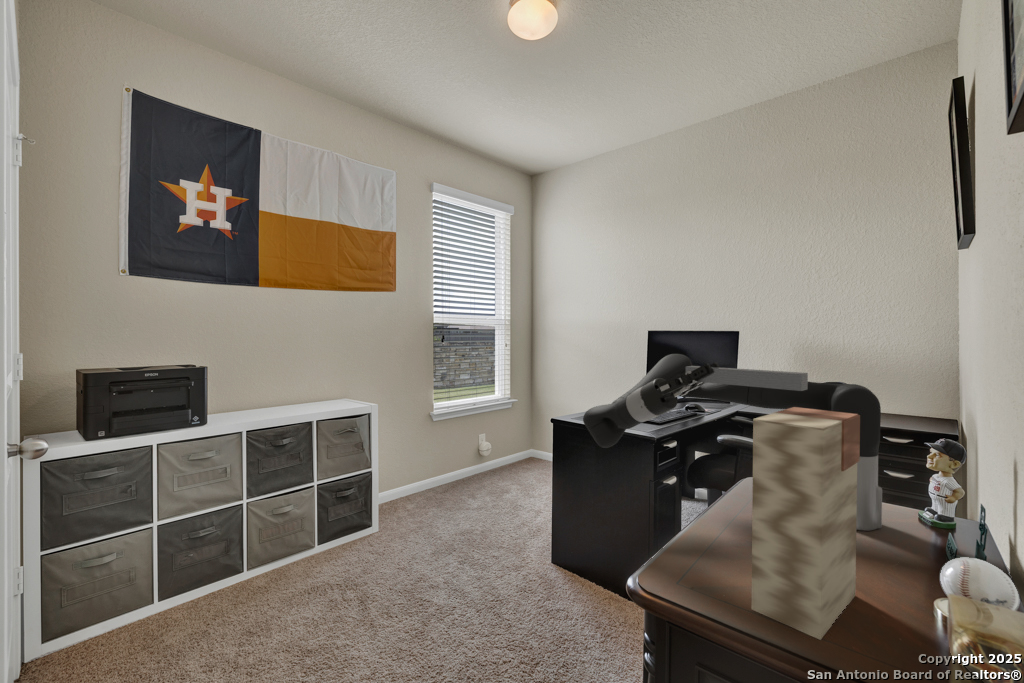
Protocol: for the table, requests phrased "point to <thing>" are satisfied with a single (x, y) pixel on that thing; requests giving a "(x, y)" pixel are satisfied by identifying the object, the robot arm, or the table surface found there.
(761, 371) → the metal block
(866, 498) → the robot arm
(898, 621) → the table surface
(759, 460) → the zigzag patterned pillar
